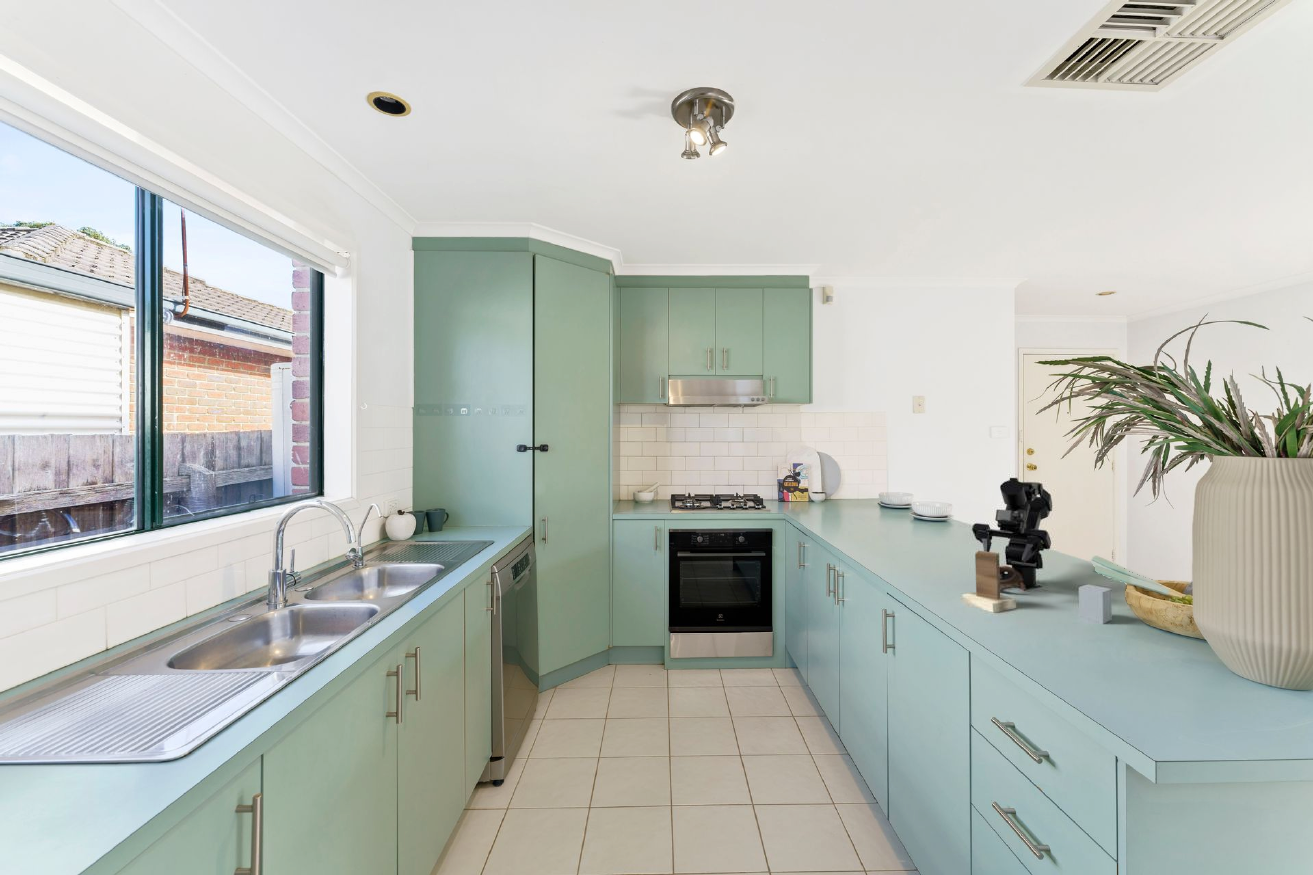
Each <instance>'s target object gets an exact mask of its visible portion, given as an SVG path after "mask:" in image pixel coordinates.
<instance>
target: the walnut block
mask: <svg viewBox="0 0 1313 875" xmlns="http://www.w3.org/2000/svg"><path fill="white" fill-rule="evenodd" d="M974 557H975V558H974V559H975V561H974V563H975V592H976V596H978V597H984V598H990V599H996V600H997V599H998V598H999V597H1000V595H1001V589H1000V552H994V551H989V552H986V551H984V550H977V552H976V553H975V555H974Z"/></svg>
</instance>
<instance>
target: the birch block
mask: <svg viewBox="0 0 1313 875" xmlns="http://www.w3.org/2000/svg"><path fill="white" fill-rule="evenodd" d="M962 604H964V605H967V604H968V605H967V606H971V607H973V606H974V607H973V608H976V607H977V608H976V609H979V608H981V609H980V610H982V609H983V610H984V611H985V610H987V611H986V612H988V613H992V614H994V613H995V614H996V613H998V612H999V611H1000V612H1004V611H1003V610H1005V611H1009V610H1014V608H1015V609H1016V608H1017V599H1016V598H1013V597H1010V596H1006V595H1003V594H1000V597H999V598H998V599H997V600H996V599H990V598H984V597H978V596H976V591H972V592H968V593H963V594H962Z"/></svg>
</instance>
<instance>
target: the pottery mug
mask: <svg viewBox="0 0 1313 875" xmlns="http://www.w3.org/2000/svg"><path fill="white" fill-rule="evenodd" d="M1022 581H1023V578H1022V576H1021V575H1020V574H1019V573H1018V572H1016V570H1015V569H1013V568H1012V566H1009V565H1001V566H1000V590H1005V589H1007V588H1008V589H1010V588H1013V587H1014V588H1020V589H1022V591H1023V592H1025V591H1026V592H1027V589H1026V586H1025V585H1024V583H1023V582H1022Z"/></svg>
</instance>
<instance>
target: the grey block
mask: <svg viewBox="0 0 1313 875" xmlns="http://www.w3.org/2000/svg"><path fill="white" fill-rule="evenodd" d="M1112 609H1113V608H1112V588H1108V587H1102V586H1098V585H1094V584H1093V585H1092V584H1085V585H1081V586H1079V587H1078V618H1079V619H1081V620H1085V621H1088V622H1092V621H1093V623H1096V624H1100V623H1102V624H1101V625H1104V624H1106V622H1107V621H1109V622H1110V620H1111V619H1112V620H1113V616H1112V615H1113V614H1112V611H1113V610H1112ZM1112 620H1111V621H1112ZM1103 623H1104V624H1103ZM1107 623H1108V622H1107Z"/></svg>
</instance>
